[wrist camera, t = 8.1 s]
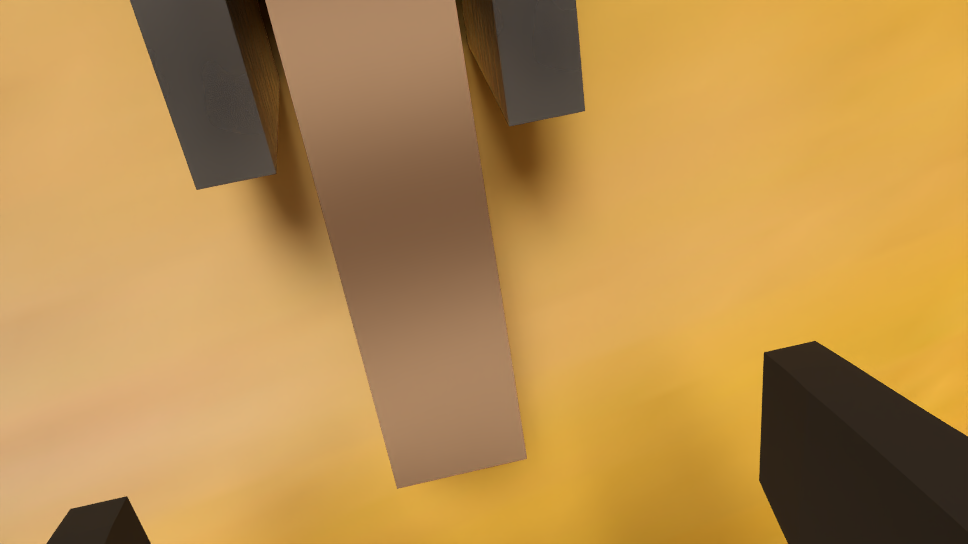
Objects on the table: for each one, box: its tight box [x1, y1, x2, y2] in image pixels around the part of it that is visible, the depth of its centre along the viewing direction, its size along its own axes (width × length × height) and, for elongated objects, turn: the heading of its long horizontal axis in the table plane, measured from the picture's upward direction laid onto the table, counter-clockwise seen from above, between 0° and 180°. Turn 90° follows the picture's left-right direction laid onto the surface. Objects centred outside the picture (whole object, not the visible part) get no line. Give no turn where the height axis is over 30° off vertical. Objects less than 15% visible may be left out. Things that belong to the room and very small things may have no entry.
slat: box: [265, 0, 527, 489], centre depth 16 cm, size 10×2×5 cm, turn 8°
